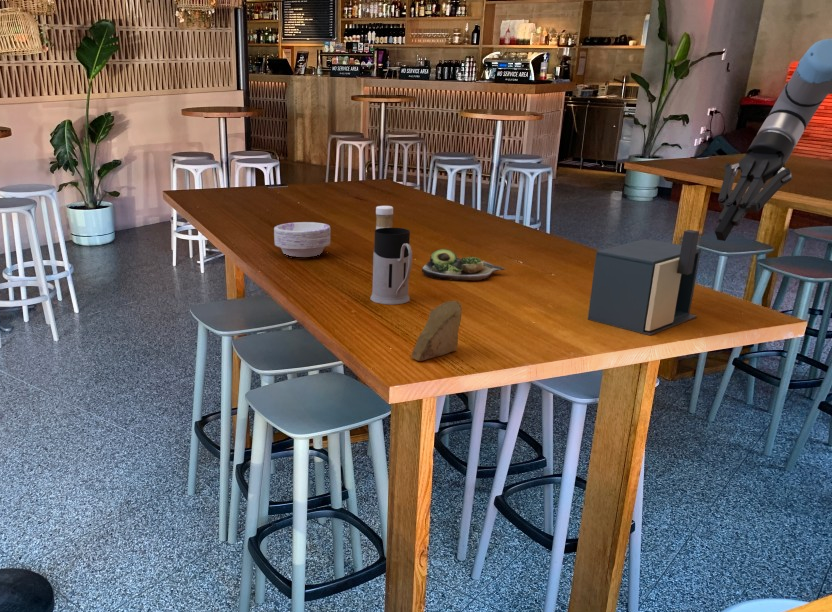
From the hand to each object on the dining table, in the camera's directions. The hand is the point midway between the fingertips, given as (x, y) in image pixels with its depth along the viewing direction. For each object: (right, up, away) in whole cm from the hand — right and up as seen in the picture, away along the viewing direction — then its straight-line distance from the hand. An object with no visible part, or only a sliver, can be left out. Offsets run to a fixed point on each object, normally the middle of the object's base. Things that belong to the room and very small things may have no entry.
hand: (719, 236), depth 155 cm
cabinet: (-14, -15, +6) cm, 21 cm away
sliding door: (-12, -18, -3) cm, 22 cm away
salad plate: (-45, -2, +41) cm, 61 cm away
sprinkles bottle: (-61, +5, +57) cm, 84 cm away
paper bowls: (-83, +6, +60) cm, 103 cm away
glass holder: (-62, -11, +17) cm, 65 cm away
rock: (-58, -24, -14) cm, 64 cm away
